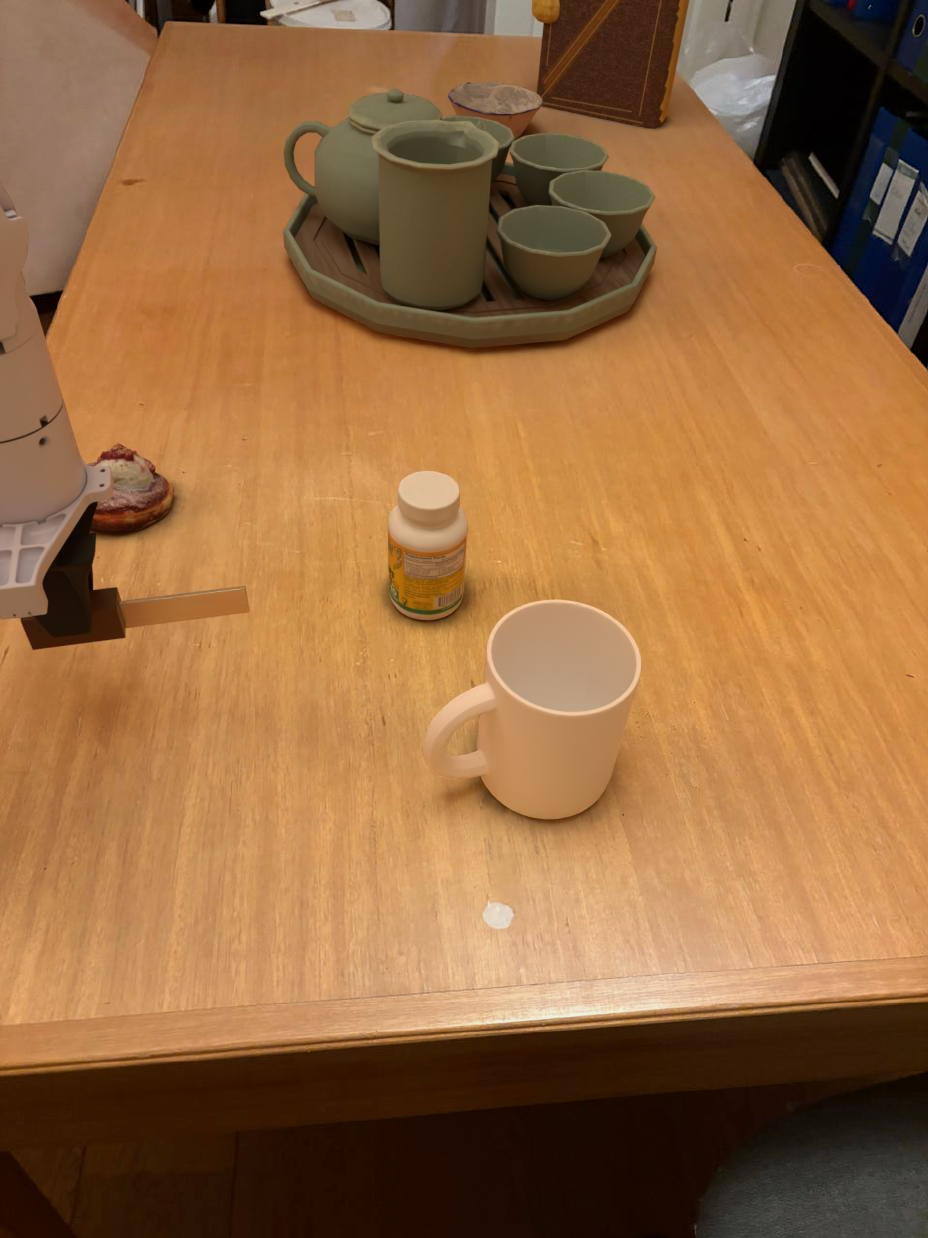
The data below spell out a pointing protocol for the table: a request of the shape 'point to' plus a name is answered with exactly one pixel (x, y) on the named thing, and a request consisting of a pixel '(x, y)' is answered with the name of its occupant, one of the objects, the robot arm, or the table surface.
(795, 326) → the table surface
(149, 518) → the pastry
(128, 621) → the knife
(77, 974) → the table surface
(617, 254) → the tea set
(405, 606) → the supplement bottle
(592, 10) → the book
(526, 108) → the bowl
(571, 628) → the mug
